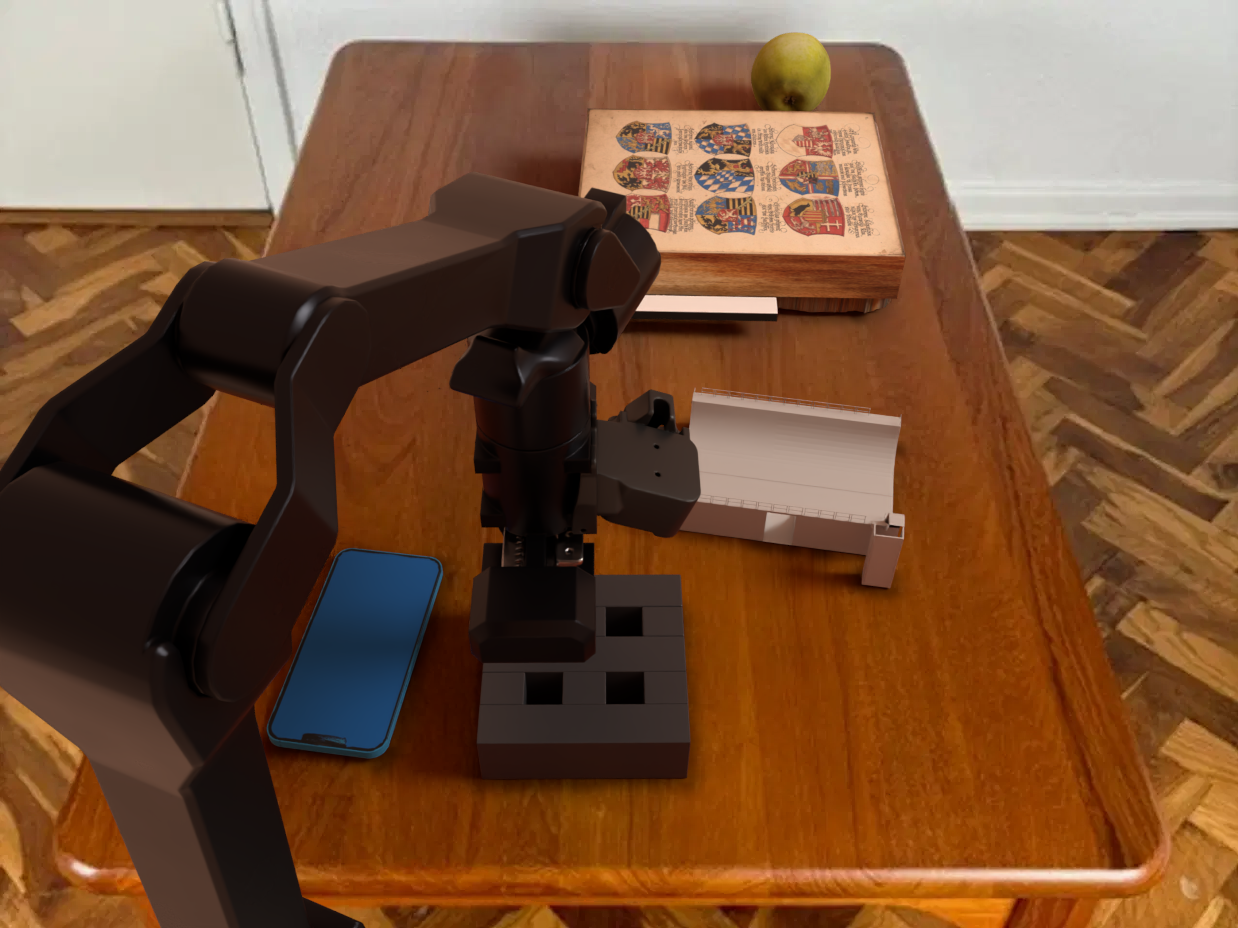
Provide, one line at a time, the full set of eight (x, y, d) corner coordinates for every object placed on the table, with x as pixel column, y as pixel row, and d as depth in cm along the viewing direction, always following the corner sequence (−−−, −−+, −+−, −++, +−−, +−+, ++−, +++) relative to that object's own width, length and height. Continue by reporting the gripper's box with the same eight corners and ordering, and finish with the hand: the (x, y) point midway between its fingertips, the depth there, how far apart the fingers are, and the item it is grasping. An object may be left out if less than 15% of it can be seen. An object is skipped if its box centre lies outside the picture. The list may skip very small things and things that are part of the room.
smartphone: (446, 558, 79) (383, 754, 69) (447, 567, 80) (385, 763, 70) (338, 545, 80) (260, 738, 70) (341, 555, 81) (263, 747, 70)
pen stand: (687, 778, 69) (690, 742, 66) (481, 779, 69) (476, 743, 66) (678, 612, 78) (680, 573, 75) (494, 612, 77) (490, 574, 74)
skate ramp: (893, 448, 88) (906, 397, 84) (890, 589, 79) (904, 539, 75) (691, 422, 90) (695, 372, 86) (665, 558, 81) (668, 507, 77)
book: (549, 336, 97) (897, 343, 96) (545, 272, 92) (910, 279, 91) (569, 168, 114) (864, 173, 113) (566, 108, 109) (874, 112, 108)
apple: (825, 93, 123) (835, 18, 118) (825, 139, 117) (836, 63, 111) (749, 88, 124) (756, 13, 118) (745, 134, 118) (752, 58, 112)
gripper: (706, 556, 53) (689, 739, 64) (685, 292, 66) (674, 484, 77) (454, 557, 53) (481, 741, 64) (483, 293, 66) (501, 485, 77)
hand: (544, 601), depth 71 cm, fingers closed
